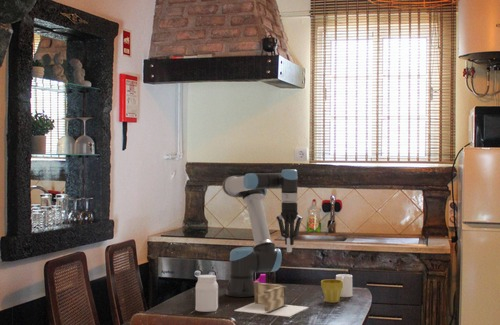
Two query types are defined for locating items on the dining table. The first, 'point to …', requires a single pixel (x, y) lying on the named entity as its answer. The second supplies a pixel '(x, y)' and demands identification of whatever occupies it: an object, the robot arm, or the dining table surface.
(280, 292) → the wooden board
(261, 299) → the fixed fence section
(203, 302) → the jar
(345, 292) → the cup
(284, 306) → the card
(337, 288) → the plant pot
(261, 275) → the toy block
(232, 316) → the dining table surface
